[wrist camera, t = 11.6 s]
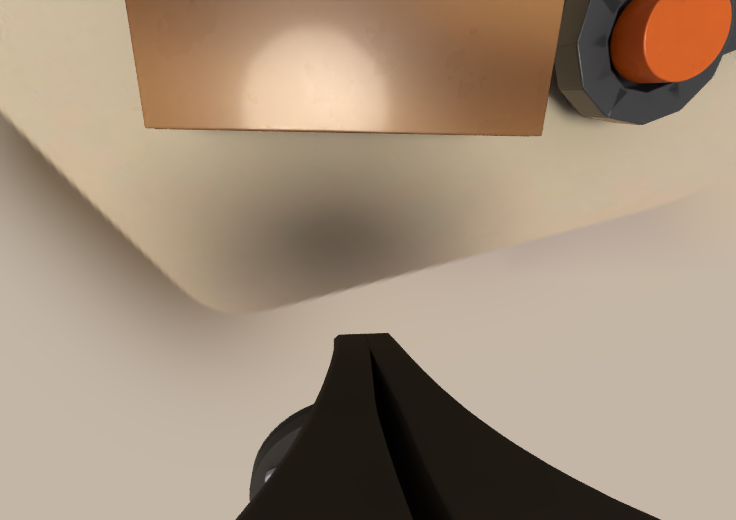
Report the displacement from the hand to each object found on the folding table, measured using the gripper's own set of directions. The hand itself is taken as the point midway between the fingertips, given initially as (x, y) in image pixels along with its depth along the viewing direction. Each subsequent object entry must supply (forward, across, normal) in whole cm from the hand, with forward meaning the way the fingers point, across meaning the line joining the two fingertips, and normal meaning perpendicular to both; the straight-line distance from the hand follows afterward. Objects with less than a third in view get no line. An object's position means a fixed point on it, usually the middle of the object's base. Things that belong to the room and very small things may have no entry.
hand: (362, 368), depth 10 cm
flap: (+5, 0, -8) cm, 9 cm away
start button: (+8, -12, -9) cm, 17 cm away
